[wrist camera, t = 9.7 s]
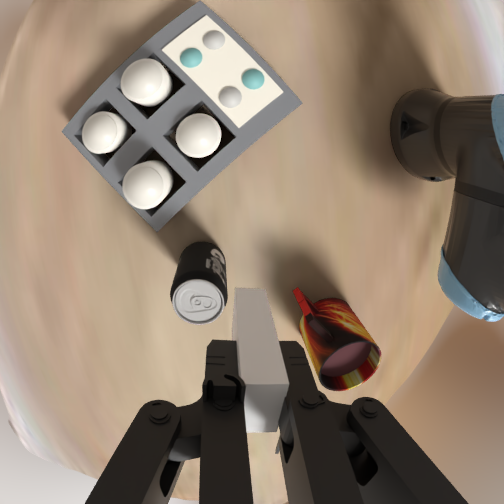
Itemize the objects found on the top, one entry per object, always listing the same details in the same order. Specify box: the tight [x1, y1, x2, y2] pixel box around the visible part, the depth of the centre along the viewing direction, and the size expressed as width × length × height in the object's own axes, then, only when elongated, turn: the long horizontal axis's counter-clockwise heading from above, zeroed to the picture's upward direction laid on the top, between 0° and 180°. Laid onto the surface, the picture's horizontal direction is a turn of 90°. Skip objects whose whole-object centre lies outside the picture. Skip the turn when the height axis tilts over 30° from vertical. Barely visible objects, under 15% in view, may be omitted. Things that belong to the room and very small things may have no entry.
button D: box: [82, 112, 132, 154], centre depth 33 cm, size 5×5×5 cm
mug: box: [293, 287, 381, 391], centre depth 44 cm, size 10×14×12 cm
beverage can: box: [170, 242, 228, 325], centre depth 38 cm, size 7×7×12 cm
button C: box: [121, 59, 173, 107], centre depth 29 cm, size 5×5×5 cm
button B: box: [122, 160, 174, 209], centre depth 33 cm, size 5×5×5 cm
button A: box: [176, 113, 221, 158], centre depth 34 cm, size 5×5×5 cm
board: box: [62, 1, 302, 232], centre depth 34 cm, size 24×19×5 cm
